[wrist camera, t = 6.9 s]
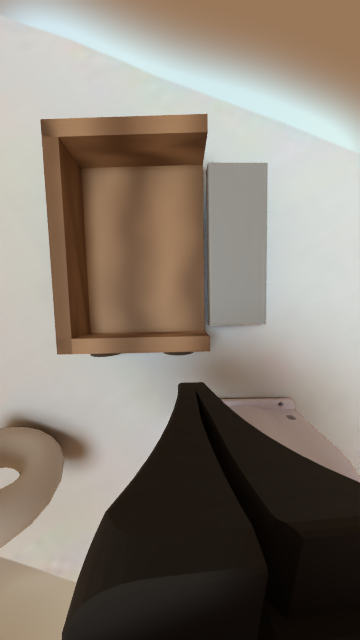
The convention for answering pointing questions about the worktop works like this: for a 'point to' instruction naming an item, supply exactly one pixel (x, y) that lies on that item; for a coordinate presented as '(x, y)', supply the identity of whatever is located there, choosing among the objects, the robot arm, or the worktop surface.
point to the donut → (27, 477)
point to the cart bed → (126, 233)
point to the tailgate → (236, 243)
